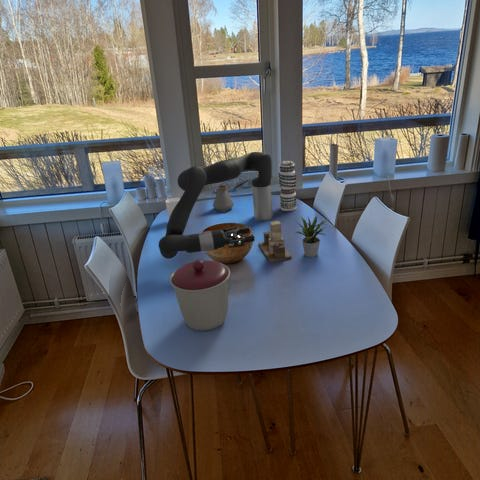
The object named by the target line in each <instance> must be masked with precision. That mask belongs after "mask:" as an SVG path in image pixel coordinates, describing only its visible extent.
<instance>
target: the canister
mask: <svg viewBox="0 0 480 480" xmlns="http://www.w3.org/2000/svg"><path fill="white" fill-rule="evenodd" d="M230 275H231V270H230V268H229V267H228V266H227V265H225V264H223V263H221V262H218V261H214V260H201V259H197V260H195V261H192V262H189V263H185V264H184V265H183V264H182V266H180V267H179V268H177V269H175V270H174V271H173V272H172V273H171V275H170V277H169V284H170V285H171V287H173V289H174V293H175V296H176V299H177V303H178V306H179V309H180V312H181V315H182V318H183V321H184V322H185V324H186V325H187V326H188V327H189V328H191V329H192V330H195V331H201V332H202V331H204V332H205V331H210V330H214V329H216V328H219V326H221V325H222V324H223V323H224V322H225V321H226V319H227V317H228V310H229V279H230Z"/></svg>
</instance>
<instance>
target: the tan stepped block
mask: <svg viewBox="0 0 480 480" xmlns="http://www.w3.org/2000/svg"><path fill="white" fill-rule="evenodd" d="M269 227H270V229H269V230H270V231H271V238H270V239H269V251H270V253H271V254H274V249H273V246H274V244H279V245H284V246H285V239H284V237H283V236H282V223H281V222H280V220H275V221H270V222H269Z"/></svg>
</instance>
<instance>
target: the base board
mask: <svg viewBox="0 0 480 480" xmlns="http://www.w3.org/2000/svg"><path fill="white" fill-rule="evenodd" d="M268 234H271V231H265V232H263V241H259V242H258V246H259V248H260V249H261V251H262V252H263V254H264V256H265V257H266V259H267V261H268V262H269V263H274V262H279V261H280V262H281V261H285V260H290V259H292V258H293V257H292V255H291V253H289V251H288V250H287V248H286V247H285V244H284V245H277V246H273V249H274V254H271V253H270V251H269V238H268V237H267V236H268Z"/></svg>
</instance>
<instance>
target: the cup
mask: <svg viewBox="0 0 480 480" xmlns="http://www.w3.org/2000/svg"><path fill="white" fill-rule="evenodd" d="M180 199H181V197H179V196H178V197H176V196H175V197H170V198H168V199H166V200H165V208H166V211H167V214H168V217H169V218H170V215H171V213H172V211H173V209H174V208H175V206H176V205H177V203H178V202H179V200H180ZM169 218H168V219H169Z"/></svg>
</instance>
